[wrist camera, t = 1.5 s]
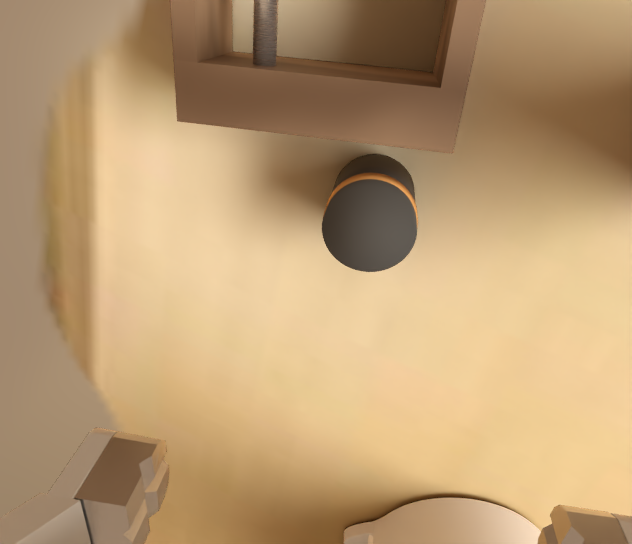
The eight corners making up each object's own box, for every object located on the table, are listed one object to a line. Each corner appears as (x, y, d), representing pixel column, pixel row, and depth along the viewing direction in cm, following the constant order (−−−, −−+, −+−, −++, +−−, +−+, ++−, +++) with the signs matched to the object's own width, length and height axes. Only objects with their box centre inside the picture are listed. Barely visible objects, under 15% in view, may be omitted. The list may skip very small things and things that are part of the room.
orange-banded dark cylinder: (407, 235, 28) (409, 278, 24) (329, 225, 28) (317, 265, 24) (422, 158, 26) (426, 190, 22) (337, 148, 26) (325, 177, 22)
